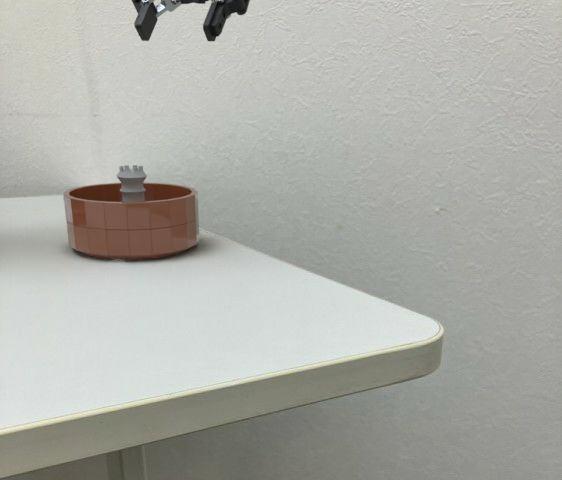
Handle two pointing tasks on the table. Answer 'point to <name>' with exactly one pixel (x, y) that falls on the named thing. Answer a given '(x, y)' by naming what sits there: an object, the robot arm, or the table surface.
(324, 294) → the table surface
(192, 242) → the bowl
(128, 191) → the rook chess piece
